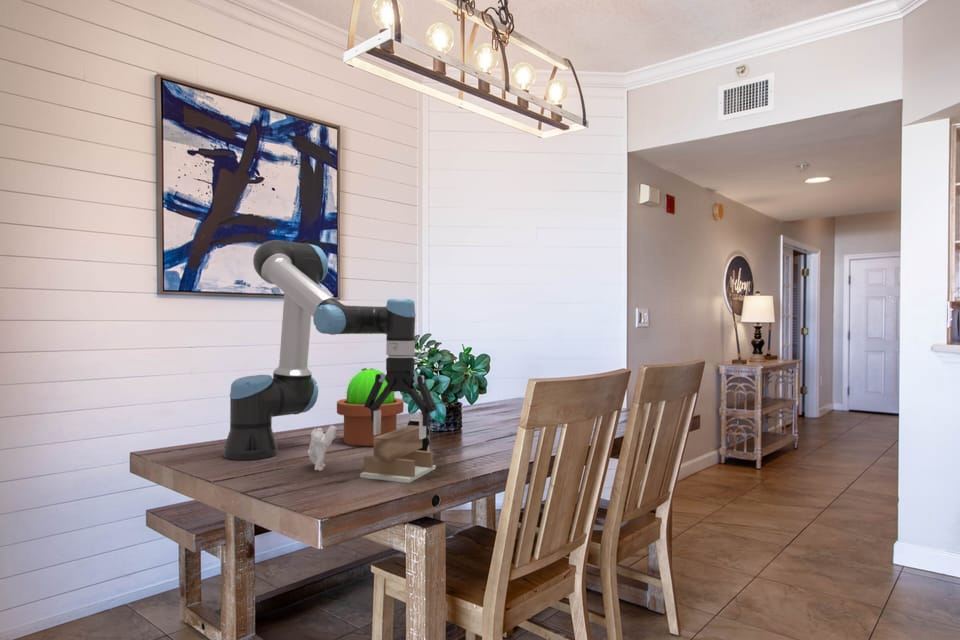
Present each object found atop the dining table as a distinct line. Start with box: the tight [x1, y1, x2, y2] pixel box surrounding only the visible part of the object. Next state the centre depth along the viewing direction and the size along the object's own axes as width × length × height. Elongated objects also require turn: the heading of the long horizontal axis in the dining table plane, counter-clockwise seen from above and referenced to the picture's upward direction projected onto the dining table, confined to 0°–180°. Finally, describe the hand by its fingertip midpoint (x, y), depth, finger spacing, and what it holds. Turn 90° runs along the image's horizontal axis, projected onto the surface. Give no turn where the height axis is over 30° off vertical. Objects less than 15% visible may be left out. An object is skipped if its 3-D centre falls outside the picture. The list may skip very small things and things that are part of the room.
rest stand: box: [359, 450, 437, 484], centre depth 162 cm, size 14×16×5 cm
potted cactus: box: [336, 367, 405, 447], centre depth 204 cm, size 22×22×25 cm
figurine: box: [307, 425, 338, 472], centre depth 166 cm, size 10×5×12 cm, turn 52°
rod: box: [372, 425, 422, 463], centre depth 162 cm, size 4×20×6 cm, turn 160°
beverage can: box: [407, 417, 431, 452], centre depth 177 cm, size 7×7×12 cm
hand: (399, 436), depth 162 cm, fingers open, 13 cm apart
